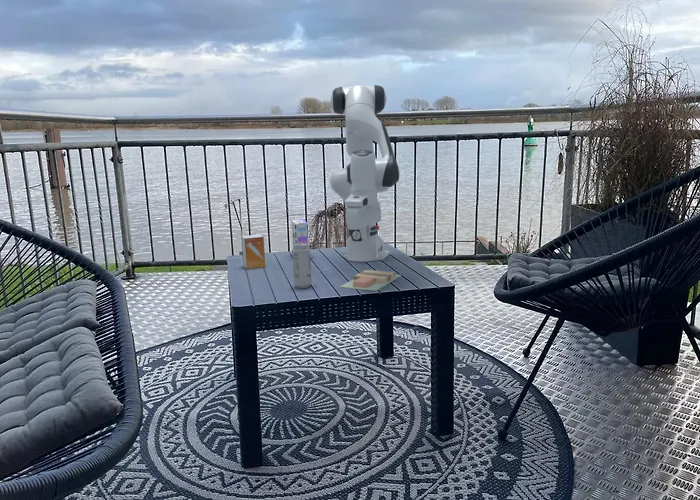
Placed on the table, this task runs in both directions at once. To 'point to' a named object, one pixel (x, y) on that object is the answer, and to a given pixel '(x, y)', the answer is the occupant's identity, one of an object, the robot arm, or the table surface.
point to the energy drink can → (301, 265)
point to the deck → (376, 275)
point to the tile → (363, 282)
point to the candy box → (300, 232)
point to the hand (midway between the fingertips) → (365, 238)
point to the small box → (253, 251)
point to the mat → (372, 287)
